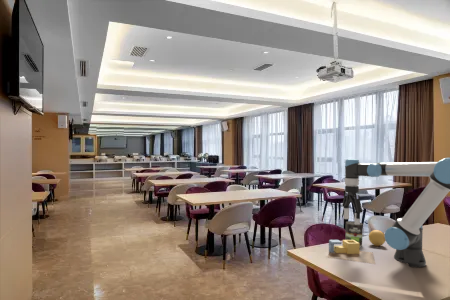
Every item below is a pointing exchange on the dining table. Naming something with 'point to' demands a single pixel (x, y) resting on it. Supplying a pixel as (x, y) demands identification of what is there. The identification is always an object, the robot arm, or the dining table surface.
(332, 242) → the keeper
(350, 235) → the coffee can
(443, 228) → the dining table surface
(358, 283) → the dining table surface
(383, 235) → the stress ball
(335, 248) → the link
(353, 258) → the board
